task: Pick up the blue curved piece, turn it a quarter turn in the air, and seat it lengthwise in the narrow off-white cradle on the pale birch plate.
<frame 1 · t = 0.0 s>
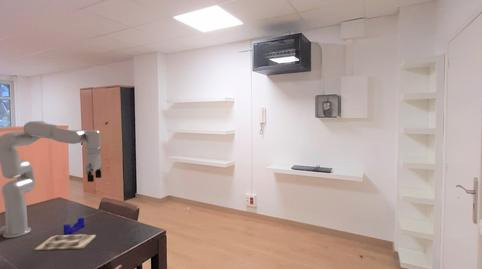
hand: (94, 179, 157), 31 cm above the table, tool pointing down, fingers open, 9 cm apart
blue curved piece: (73, 231, 159), on the table
clip cradle: (66, 242, 143), on the table
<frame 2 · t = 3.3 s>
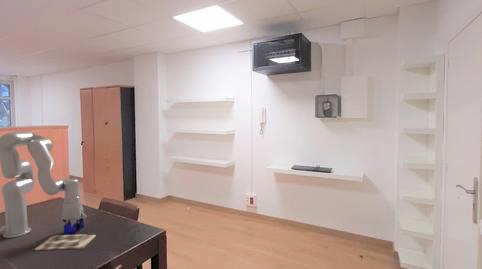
hand: (74, 229, 159), 1 cm above the table, tool pointing down, fingers closed on blue curved piece, 5 cm apart
blue curved piece: (73, 231, 159), on the table, touching gripper
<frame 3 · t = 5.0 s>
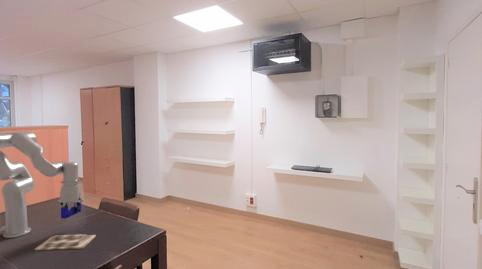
hand: (71, 212, 158), 11 cm above the table, tool pointing down, fingers closed on blue curved piece, 5 cm apart
blue curved piece: (70, 214, 158), point 10 cm above the table, touching gripper
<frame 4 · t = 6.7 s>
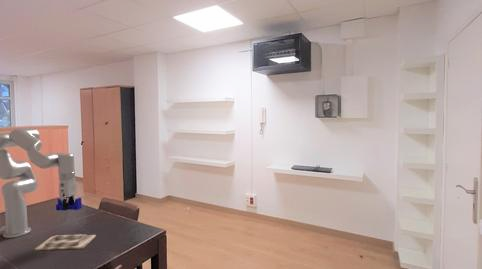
hand: (68, 207, 148), 18 cm above the table, tool pointing down, fingers closed on blue curved piece, 5 cm apart
blue curved piece: (69, 209, 148), point 16 cm above the table, touching gripper
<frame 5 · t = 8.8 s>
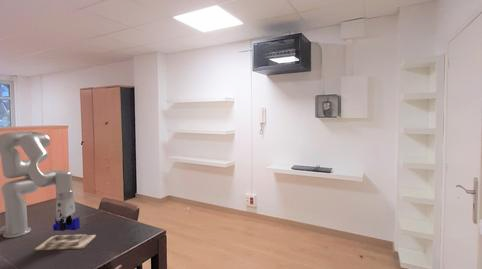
hand: (66, 227, 143), 9 cm above the table, tool pointing down, fingers closed on blue curved piece, 5 cm apart
blue curved piece: (66, 229, 142), point 8 cm above the table, touching gripper
when the fingers open (3 cm above the table, at t = 10.2 s): blue curved piece drops 2 cm, resting on clip cradle.
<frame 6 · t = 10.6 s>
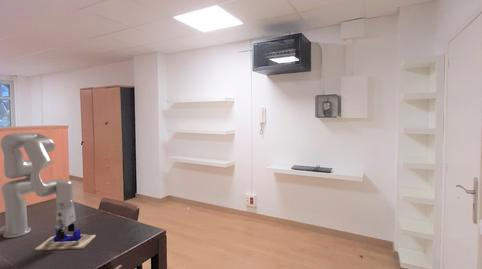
hand: (66, 234, 143), 4 cm above the table, tool pointing down, fingers open, 9 cm apart
blue curved piece: (67, 241, 143), point 1 cm above the table, touching clip cradle
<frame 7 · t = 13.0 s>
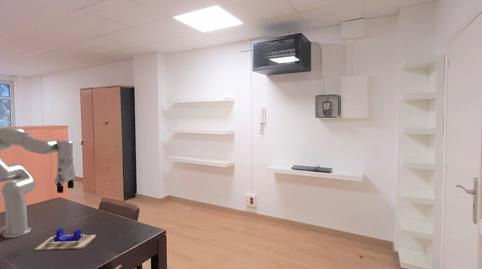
hand: (65, 190, 155), 25 cm above the table, tool pointing down, fingers open, 9 cm apart
nothing on the table moved.
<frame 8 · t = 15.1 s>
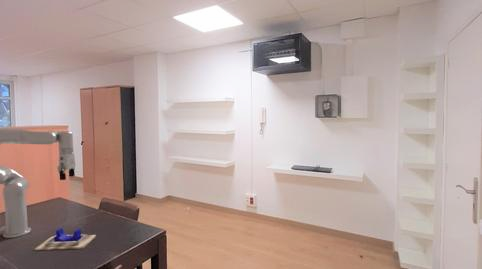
hand: (67, 177, 165), 30 cm above the table, tool pointing down, fingers open, 9 cm apart
nothing on the table moved.
at the end: blue curved piece 0.4 cm off-centre on the clip cradle, point 0.6 cm above the clip cradle's base; blue curved piece tilted 0°; the gripper is holding nothing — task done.
